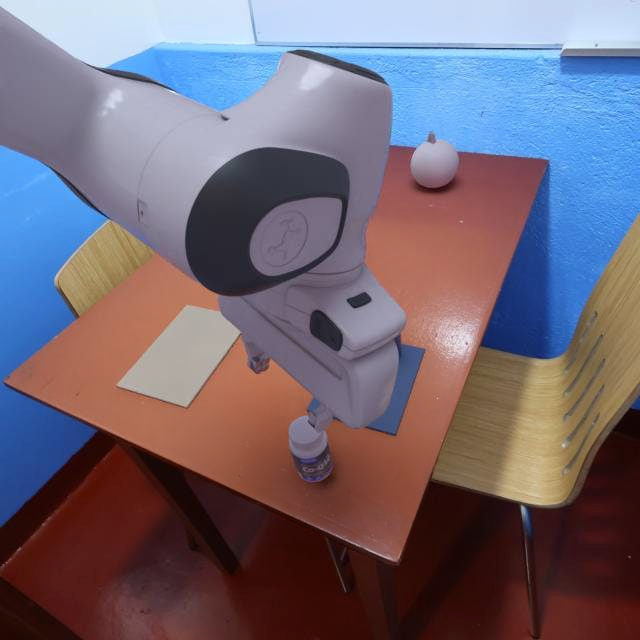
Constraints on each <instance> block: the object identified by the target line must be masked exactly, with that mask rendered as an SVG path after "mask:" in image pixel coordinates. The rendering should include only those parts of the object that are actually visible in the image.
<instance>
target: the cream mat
mask: <svg viewBox="0 0 640 640" xmlns="http://www.w3.org/2000/svg"><path fill="white" fill-rule="evenodd" d="M241 336H242V333H241V332H240V331H239V330H238V329H237V328H236V327H235V326H233V325H232V324H231V323H230V322H229V321H228V320H227V319H225V318H224V317H223V316H222V314H221V311H220V310H215V309H210V308H205V307H200V306H194V305H190V304H186V305H184V307H183V309H181V311H180V312H179V313H178V314H177V315H176V316H175V318H173V320H172V321H171V322H170V323H169V324H168V325H167V326H166V328H165V329H164V330H163V331H162V333H161V334H159V336H158V337H157V338H156V339H155V340H154V341H153V343H151V345H149V347H148V348H147V349H146V351H144V353H143V354H142V355H141V356H140V357H139V358H138V359H137V361H136V362H135V363H134V364H133V365H132V366H131V367H130V369H129V370H128V371H127V372H126V373H125V375H123V376H122V378H121V379H120V380H119V381H118V382H117V383H116V385H115V386H116V388H118V389H122V390H126V391H128V392H132V393H135V394H139V395H142V396H145V397H148V398H151V399H155V400H158V401H161V402H164V403H168V404H172V405H174V406H177V407H180V408H184V409H189V407H190V406H191V405H192V403H193V402H194V400H195V399H196V397H198V395H199V393H200V392H201V391H202V389H203V388H204V386H205V385H206V384H207V383H208V381H209V379H210V378H211V377H212V375H213V374H214V372H215V371H216V370H217V369H218V367H219V366H220V364H221V363H222V361H223V360H224V358H225V357H226V356H227V355H228V353H229V352H230V350H231V349H232V348H233V346H234V344H235V343H236V342H237V340H238V339H239V338H240V337H241Z"/></svg>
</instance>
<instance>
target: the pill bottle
mask: <svg viewBox="0 0 640 640" xmlns="http://www.w3.org/2000/svg"><path fill="white" fill-rule="evenodd" d="M308 420H309V415H301V416H299V417H297V418H295V419H294V420H293V421H292V422H291V423H290V425H289V427H288V437H289V438H288V447H289V451H290V454H291V457H292V460H293V464H294V467H295V470H296V473H297V474H298V476H299V478H301V479H302V480H303V481H305V482H308V483H317V482H321V481H323V480H325V479H326V478H328V476H329V475H330V474H331V472H332V469H333V458H332V452H331V448H330V443H329V438H328V434H327V433H326V431H325V430H324V431H322V432H320V433H318V432H317V431H316V430H315V429H314V428H313V427H312V426H311V425H310V424H309V423H308Z"/></svg>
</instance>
